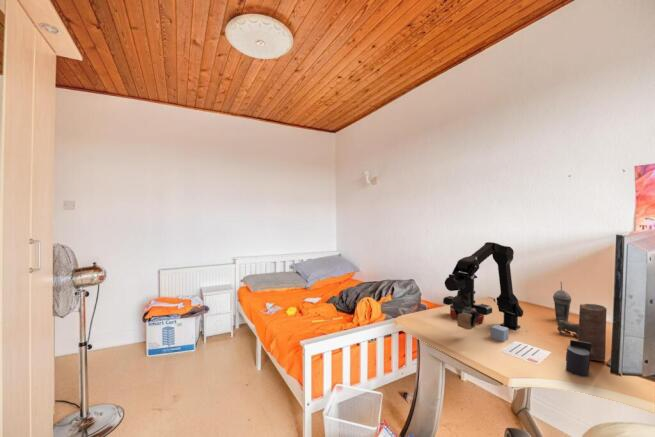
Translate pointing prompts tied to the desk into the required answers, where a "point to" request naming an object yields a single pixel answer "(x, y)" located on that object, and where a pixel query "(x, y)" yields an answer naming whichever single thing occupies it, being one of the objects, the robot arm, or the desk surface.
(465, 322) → the walnut block
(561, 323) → the dog figurine
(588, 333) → the candle
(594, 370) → the desk surface
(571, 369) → the speaker
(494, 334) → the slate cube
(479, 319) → the medicine box
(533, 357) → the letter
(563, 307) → the beverage cup
